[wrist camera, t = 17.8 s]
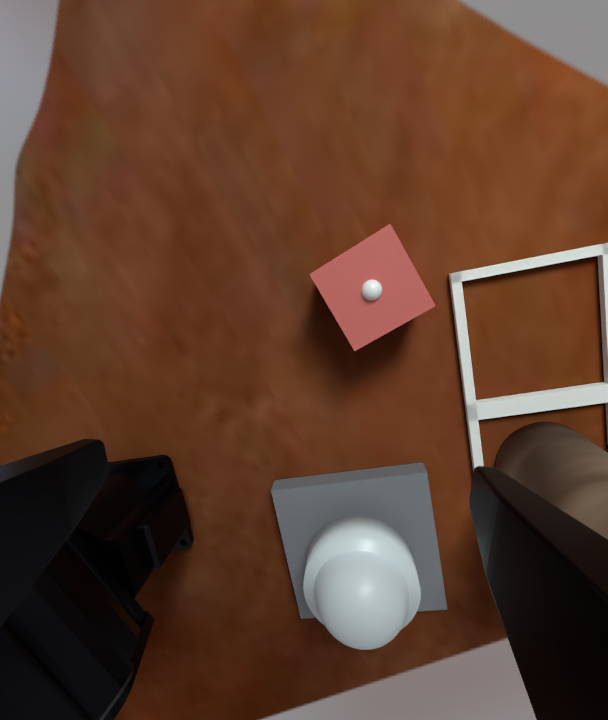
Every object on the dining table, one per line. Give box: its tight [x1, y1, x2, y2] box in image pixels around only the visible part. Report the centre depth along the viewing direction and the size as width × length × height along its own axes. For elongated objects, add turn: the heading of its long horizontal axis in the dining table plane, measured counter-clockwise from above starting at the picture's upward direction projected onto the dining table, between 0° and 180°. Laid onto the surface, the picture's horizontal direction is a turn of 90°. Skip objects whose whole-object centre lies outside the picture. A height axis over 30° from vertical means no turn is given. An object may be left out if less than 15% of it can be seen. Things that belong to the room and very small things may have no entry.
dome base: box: [271, 462, 447, 619], centre depth 23 cm, size 9×9×1 cm
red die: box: [309, 224, 435, 351], centre depth 18 cm, size 4×4×4 cm
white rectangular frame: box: [449, 243, 608, 472], centre depth 21 cm, size 8×15×1 cm, turn 11°
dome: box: [303, 516, 421, 650], centre depth 20 cm, size 6×6×5 cm
